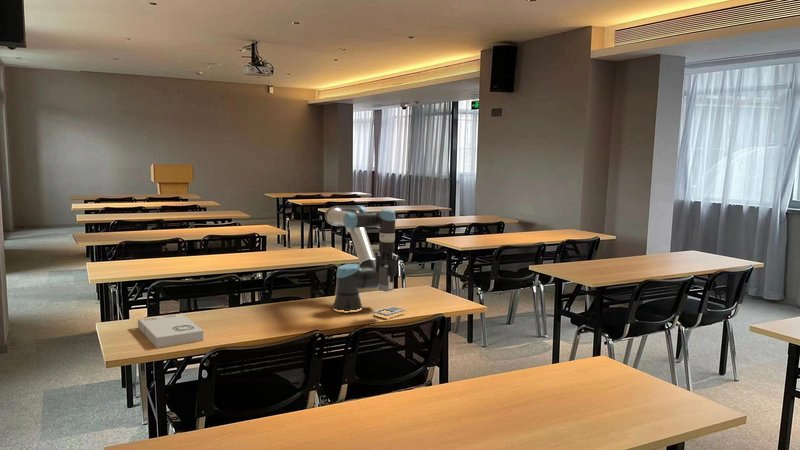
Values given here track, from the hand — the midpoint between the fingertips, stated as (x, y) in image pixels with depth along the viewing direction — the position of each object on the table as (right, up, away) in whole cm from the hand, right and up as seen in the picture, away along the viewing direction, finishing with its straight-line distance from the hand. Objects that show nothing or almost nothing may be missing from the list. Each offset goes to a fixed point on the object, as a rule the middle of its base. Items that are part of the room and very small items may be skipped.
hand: (385, 287), depth 289 cm
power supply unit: (-93, -17, -35) cm, 101 cm away
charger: (0, -1, 0) cm, 1 cm away
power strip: (+2, -14, +4) cm, 15 cm away
